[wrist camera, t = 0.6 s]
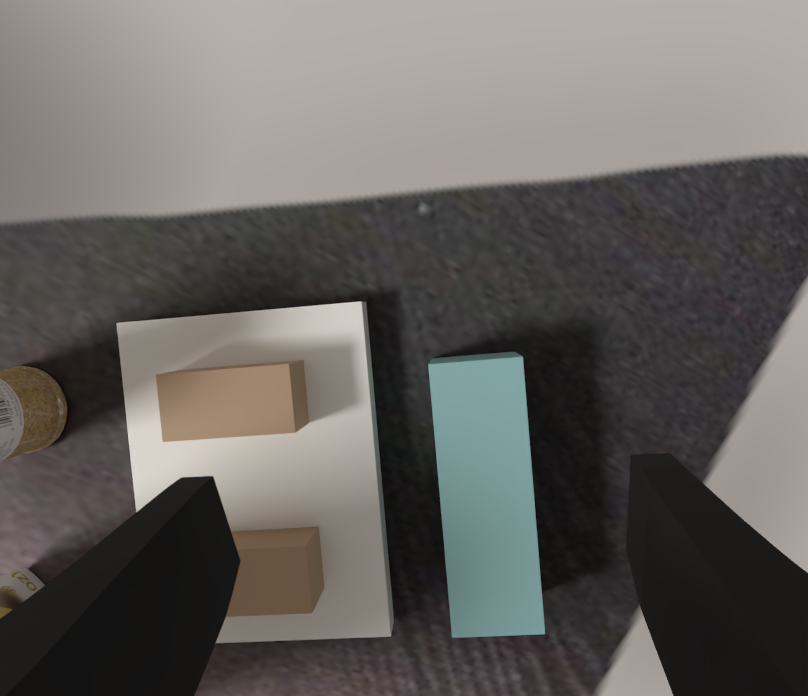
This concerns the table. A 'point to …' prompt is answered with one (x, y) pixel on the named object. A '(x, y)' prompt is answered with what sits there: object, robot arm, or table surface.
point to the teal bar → (486, 495)
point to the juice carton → (17, 589)
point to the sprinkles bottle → (29, 411)
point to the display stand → (271, 458)
